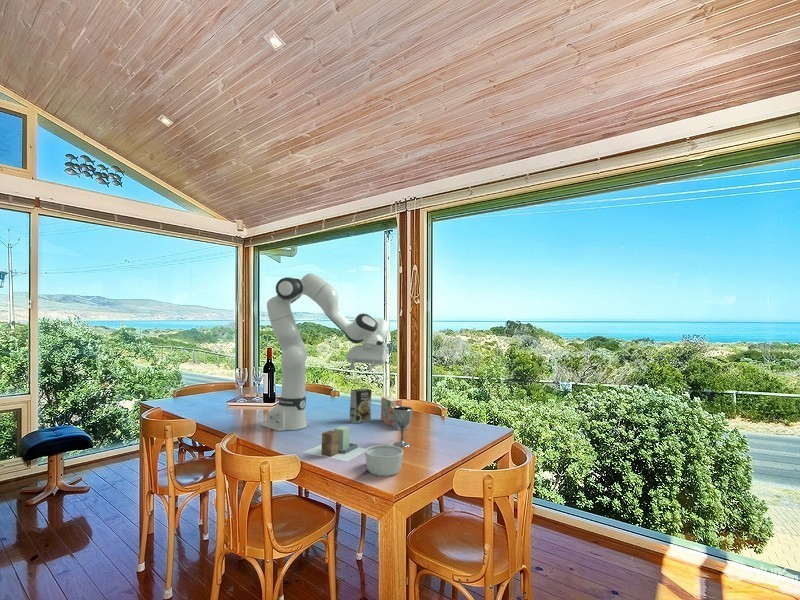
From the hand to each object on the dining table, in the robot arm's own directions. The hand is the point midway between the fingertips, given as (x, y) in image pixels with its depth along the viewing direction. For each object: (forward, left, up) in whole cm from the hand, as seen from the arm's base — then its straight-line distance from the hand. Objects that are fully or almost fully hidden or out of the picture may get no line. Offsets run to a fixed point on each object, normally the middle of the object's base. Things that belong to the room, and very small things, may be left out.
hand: (359, 369), depth 186 cm
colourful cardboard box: (+6, +25, -30) cm, 39 cm away
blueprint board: (+8, -27, -29) cm, 41 cm away
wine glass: (+24, -3, -30) cm, 38 cm away
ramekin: (+32, -33, -30) cm, 55 cm away
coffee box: (-12, +21, -30) cm, 38 cm away
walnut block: (+8, -32, -28) cm, 43 cm away
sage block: (+8, -24, -28) cm, 38 cm away
